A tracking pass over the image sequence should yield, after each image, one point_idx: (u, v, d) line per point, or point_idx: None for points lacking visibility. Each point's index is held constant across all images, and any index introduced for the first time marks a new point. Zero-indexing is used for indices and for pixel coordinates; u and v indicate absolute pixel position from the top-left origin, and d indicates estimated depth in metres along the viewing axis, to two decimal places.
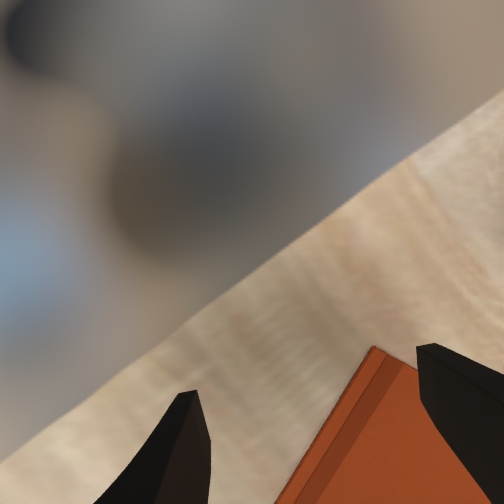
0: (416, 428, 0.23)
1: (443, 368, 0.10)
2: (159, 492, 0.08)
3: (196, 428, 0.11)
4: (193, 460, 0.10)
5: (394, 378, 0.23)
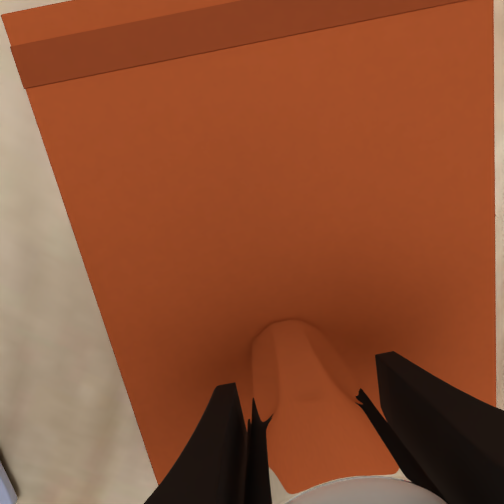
0: (402, 112, 0.13)
1: (395, 377, 0.10)
2: (219, 480, 0.08)
3: (238, 420, 0.11)
4: (238, 451, 0.10)
5: (459, 0, 0.12)
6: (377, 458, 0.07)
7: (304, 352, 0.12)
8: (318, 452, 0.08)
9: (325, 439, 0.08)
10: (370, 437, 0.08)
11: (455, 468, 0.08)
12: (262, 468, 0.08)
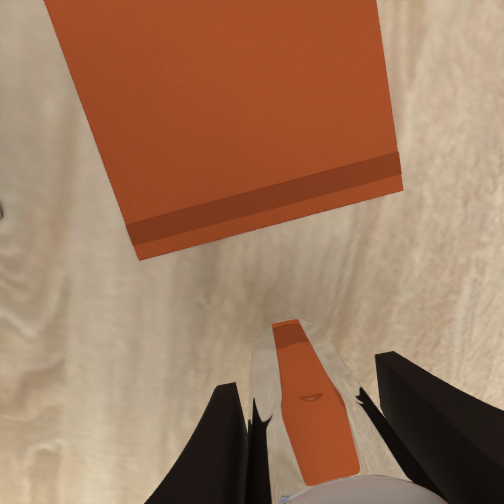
0: None
1: (396, 378, 0.10)
2: (220, 480, 0.08)
3: (238, 420, 0.11)
4: (238, 451, 0.10)
5: None
6: (378, 457, 0.07)
7: (305, 352, 0.12)
8: (318, 451, 0.08)
9: (326, 438, 0.08)
10: (371, 436, 0.08)
11: (455, 468, 0.08)
12: (262, 467, 0.08)
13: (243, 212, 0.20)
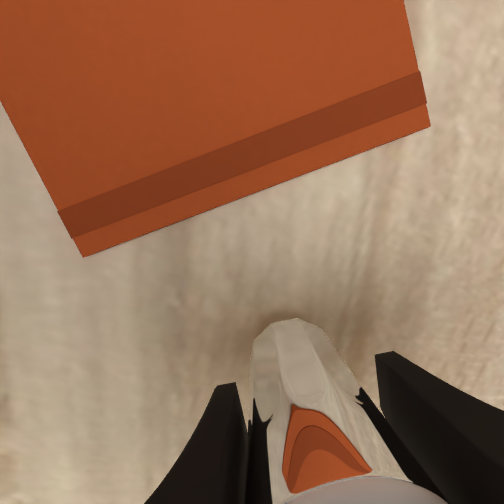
0: None
1: (395, 377, 0.10)
2: (220, 480, 0.08)
3: (238, 420, 0.11)
4: (238, 451, 0.10)
5: None
6: (378, 458, 0.07)
7: (305, 352, 0.12)
8: (319, 452, 0.08)
9: (326, 439, 0.08)
10: (371, 437, 0.08)
11: (455, 468, 0.08)
12: (263, 468, 0.08)
13: (214, 178, 0.15)
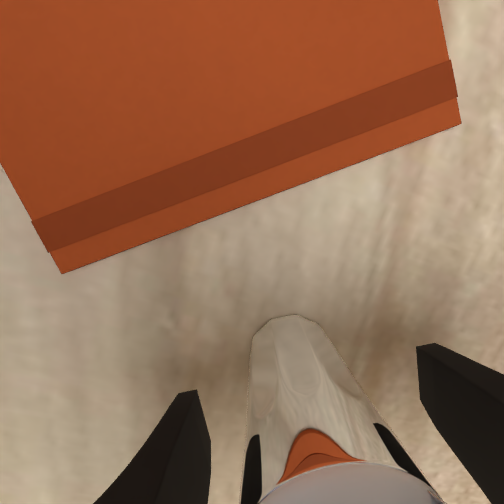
0: None
1: (443, 368, 0.10)
2: (159, 492, 0.08)
3: (196, 428, 0.11)
4: (193, 460, 0.10)
5: None
6: (366, 446, 0.08)
7: (302, 347, 0.12)
8: (310, 440, 0.08)
9: (318, 428, 0.08)
10: (361, 426, 0.08)
11: None
12: (258, 455, 0.08)
13: (211, 183, 0.13)
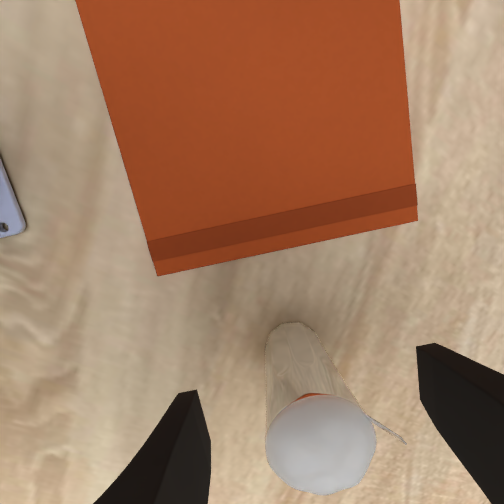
0: None
1: (443, 368, 0.10)
2: (159, 492, 0.08)
3: (196, 428, 0.11)
4: (193, 460, 0.10)
5: None
6: (337, 390, 0.16)
7: (304, 342, 0.20)
8: (310, 385, 0.16)
9: (314, 380, 0.16)
10: (335, 383, 0.16)
11: None
12: (280, 392, 0.16)
13: (262, 234, 0.21)
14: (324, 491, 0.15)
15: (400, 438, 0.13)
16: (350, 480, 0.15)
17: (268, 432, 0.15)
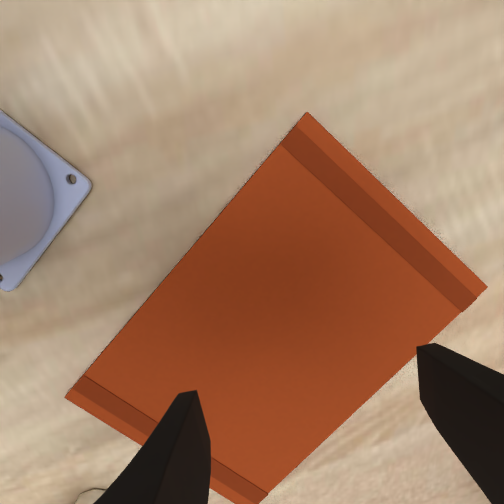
0: (392, 315, 0.23)
1: (443, 368, 0.10)
2: (159, 492, 0.08)
3: (196, 428, 0.11)
4: (193, 460, 0.10)
5: (450, 301, 0.23)
6: None
7: None
8: None
9: None
10: None
11: None
12: None
13: None
14: None
15: None
16: None
17: None
